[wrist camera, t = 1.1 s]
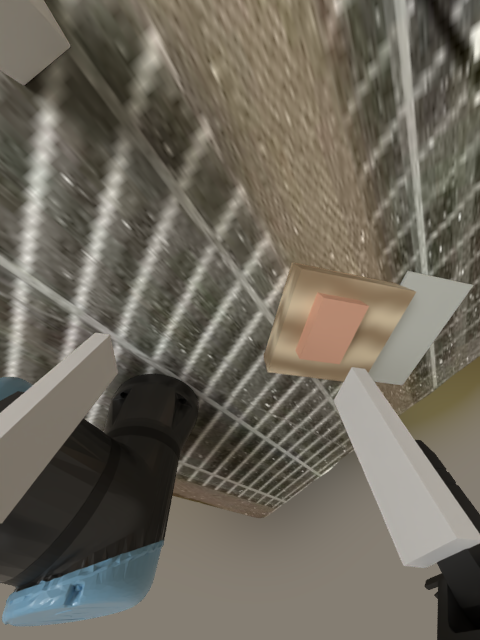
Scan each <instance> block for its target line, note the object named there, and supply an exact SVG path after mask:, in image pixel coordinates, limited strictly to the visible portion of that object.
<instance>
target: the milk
mask: <svg viewBox="0 0 480 640" xmlns="http://www.w3.org/2000/svg"><path fill="white" fill-rule="evenodd" d="M70 47H71V46H70V44H69V42H68V40H67V38H66V37H65V35H64V33H63V32H62V30H61V28H60V27H59V25H58V23H57V21H56V20H55V18H54V16H53V15H52V13H51V11H50V10H49V8H48V6H47V5H46V3H45V1H44V0H0V70H1V71H2V72H4V73H5V74H7V75H8V76H10V77H11V78H13V79H14V80H16V81H17V82H19V83H21V84H22V85H25V84H27V83H28V82H29V81H30V80H31V79H33V78H34V77H35V76H36V75H37V74H39V73H40V72H41V71H42V70H43V69H45V68H46V67H47V66H48V65H49V64H51V63H52V62H53V61H54V60H55V59H57V58H58V57H59V56H60V55H61V54H63V53H64V52H65V51H66V50H67V49H69V48H70Z"/></svg>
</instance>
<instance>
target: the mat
mask: <svg viewBox="0 0 480 640" xmlns="http://www.w3.org/2000/svg"><path fill="white" fill-rule="evenodd" d="M400 285H401V286H403V287H406V288H409V289H411V290H414V291H416V293H415V295H414V297H413V299H412V300H411V302H410V304H409V305H408V307H407V309H406V310H405V312H404V314H403V315H402V317H401V319H400V320H399V322H398V324H397V325H396V327H395V329H394V330H393V332H392V334H391V335H390V337H389V339H388V340H387V342H386V344H385V346H384V347H383V349H382V351H381V352H380V354H379V356H378V357H377V359H376V361H375V362H374V364H373V366H372V367H371V369H370V371H369V372H368V373H369V375H370V376H371V378H372V379H373V381H374V382H381V383H389V384H397V385H403V384H404V382H405V381H406V380H407V378H408V377H409V375H410V374H411V372H412V371H413V370H414V368H415V367H416V365H417V364H418V363H419V361H420V360H421V358H422V357H423V356H424V354H425V353H426V351H427V350H428V349H429V347H430V346H431V344H432V343H433V341H434V340H435V339H436V337H437V336H438V334H439V333H440V332H441V330H442V329H443V327H444V326H445V325H446V323H447V322H448V320H449V319H450V318H451V316H452V315H453V313H454V312H455V310H456V309H457V308H458V306H459V305H460V303H461V302H462V301H463V299H464V298H465V296H466V295H467V294H468V292H469V291H470V289H471V288H472V287H473V285H471V284H466V283H462V282H457V281H452V280H448V279H443V278H438V277H434V276H429V275H424V274H420V273H415V272H410V271H407V273H406V275H405V277H404V278H403V280H402V282H401V284H400Z"/></svg>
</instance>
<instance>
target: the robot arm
mask: <svg viewBox="0 0 480 640" xmlns="http://www.w3.org/2000/svg"><path fill="white" fill-rule="evenodd" d="M117 374H118V370H117V365H116V360H115V356H114V351H113V346H112V342H111V337H110V335H108V334H100V333H95V334H93V335H92V336H91V337H90V338H89V339H87V340H86V341H85V342H84V343H83V344H81V345H80V346H79V347H78V348H77V349H76V350H74V351H73V352H72V353H71V354H70V355H68V356H67V357H66V358H65V359H64V360H62V361H61V362H60V363H59V364H58V365H57V366H55V367H54V368H53V369H52V370H51V371H49V372H48V373H47V374H46V375H45V376H44V377H42V378H41V379H40V380H39V381H38V382H36V383H35V384H34V385H32V384H30V383H29V382H27V381H25V380H23V379H20V378H16V377H3V378H0V583H4V584H8V585H12V586H15V587H16V589H15V591H14V592H13V593H12V594H11V595H10V596H9V598H8V599H7V601H6V607H5V610H4V612H3V616H2V621H3V623H4V624H11V625H13V626H39V625H50V624H59V623H66V622H73V621H80V620H86V619H91V618H96V617H101V616H106V615H109V614H114V613H117V612H121V611H124V610H127V609H129V608H131V607H133V606H135V605H137V604H138V603H139V602H140V601H142V599H143V598H144V597H145V596H146V594H147V593H148V591H149V589H150V588H151V585H152V583H153V580H154V576H155V572H156V568H157V564H158V560H159V556H160V551H161V548H162V547H163V545H164V537H165V532H166V527H167V521H168V515H169V509H170V505H171V499H172V494H173V489H174V483H175V478H176V472H177V467H178V461H179V457H180V452H181V450H182V448H183V446H184V444H185V442H186V440H187V438H188V437H189V435H190V433H191V431H192V429H193V427H194V425H195V423H196V420H197V415H198V408H199V405H198V400H197V397H196V395H195V394H194V392H193V391H192V390H191V389H190V388H189V387H188V386H187V385H186V384H184V383H183V382H181V381H179V380H177V379H175V378H172V377H169V376H165V375H158V374H146V375H140V376H136V377H133V378H131V379H129V380H127V381H126V382H124V383H123V384H122V385H121V386H120V387H119V389H118V390H117V392H116V393H115V395H114V396H113V398H112V400H111V402H110V406H109V411H108V416H107V421H106V426H105V431H104V432H102V431H101V430H100V429H98V428H97V427H95V426H94V425H92V424H91V423H89V422H88V421H86V420H85V419H83V418H84V417H85V415H86V414H87V413H88V411H89V410H90V409H91V408H92V406H93V405H94V404H95V402H96V401H97V400H98V398H99V397H100V396H101V395H102V393H103V392H104V391H105V389H106V388H107V387H108V386H109V384H110V383H111V382H112V380H113V379H114V378H115V376H116V375H117ZM334 402H335V405H336V407H337V410H338V412H339V414H340V417H341V419H342V421H343V424H344V426H345V428H346V431H347V433H348V436H349V438H350V440H351V443H352V445H353V447H354V450H355V452H356V454H357V457H358V459H359V462H360V464H361V466H362V469H363V471H364V473H365V476H366V478H367V481H368V483H369V485H370V488H371V490H372V492H373V495H374V497H375V499H376V502H377V504H378V507H379V509H380V511H381V514H382V516H383V518H384V521H385V523H386V526H387V528H388V530H389V533H390V535H391V537H392V540H393V542H394V544H395V547H396V549H397V551H398V554H399V556H400V559H401V561H402V563H403V566H411V567H420V568H427V567H429V566H431V565H433V564H436V563H437V564H438V566H439V568H440V570H441V572H442V574H439V575H437V576H434V577H432V578H430V579H428V580H426V584H425V587H426V588H427V589H428V590H430V589H433V588H436V587H438V592H437V593H436V594H435V597H436V598H437V599H438V627H437V628H438V629H437V640H480V514H479V513H478V512H477V510H476V509H475V507H474V506H473V505H472V503H471V502H470V501H469V499H468V498H467V497H466V495H465V494H464V493H463V491H462V490H461V488H460V487H459V486H458V485H456V482H455V480H454V479H453V478H452V476H451V475H450V473H449V472H447V471H446V468H445V467H444V465H443V464H442V463H441V461H440V460H439V459H438V457H437V456H436V454H435V453H434V452H432V451H431V450H430V449H429V448H428V447H427V446H426V445H425V444H424V443H423V442H422V441H421V440H414V438H413V437H412V436H411V434H410V433H409V431H408V430H407V428H406V427H405V425H404V424H403V423H402V421H401V420H400V418H399V417H398V415H397V414H396V412H395V411H394V410H393V408H392V407H391V405H390V404H389V402H388V401H387V399H386V398H385V397H384V395H383V394H382V392H381V391H380V389H379V388H378V386H377V385H376V384H375V382H374V381H373V379H372V378H371V376H370V375H369V373H368V372H367V371H366V369H362V368H355V367H352V368H351V369H350V371H349V373H348V375H347V377H346V379H345V381H344V382H343V384H342V386H341V388H340V390H339V392H338V394H337V395H336V397H335V399H334Z"/></svg>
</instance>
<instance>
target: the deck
mask: <svg viewBox="0 0 480 640" xmlns="http://www.w3.org/2000/svg"><path fill="white" fill-rule="evenodd" d="M317 292H318V293H323V294H328V295H334V296H339V297H344V298H350V299H355V300H360V301H362V302H363V303H365V304H367V305H368V306H369V308H368V310H367V312H366V313H365V315H364V317H363V319H362V321H361V323H360V325H359V327H358V329H357V331H356V333H355V335H354V337H353V339H352V341H351V343H350V345H349V347H348V349H347V351H346V353H345V355H344V357H343V359H342V361H341V363H340V364H333V363H326V362H318V361H311V360H304V359H299V357H298V355H297V353H296V351H295V350H296V347H297V345H298V342H299V340H300V337H301V334H302V332H303V329H304V326H305V324H306V321H307V318H308V316H309V313H310V311H311V308H312V305H313V303H314V300H315V297H316V295H317ZM415 293H416V291H414V290H411V289H409V288H406V287H403V286H401V285H398V284H396V283H392V282H387V281H382V280H377V279H372V278H368V277H363V276H358V275H353V274H348V273H343V272H338V271H333V270H328V269H323V268H318V267H313V266H308V265H304V264H299V263H294V262H292V265H291V268H290V271H289V275H288V278H287V281H286V284H285V288H284V291H283V294H282V298H281V301H280V304H279V307H278V311H277V314H276V317H275V321H274V324H273V327H272V330H271V334H270V337H269V340H268V344H267V347H266V350H265V353H264V360H265V364H266V368H267V371H268V372H271V373H279V374H287V375H295V376H303V377H311V378H319V379H327V380H335V381H343V382H344V381H345V379H346V377H347V375H348V373H349V371H350V369H351V368H352V367H355V368H362V369H366V371H367V372H369V371H370V369H371V367H372V366H373V364H374V362H375V361H376V359H377V357H378V356H379V354H380V352H381V351H382V349H383V347H384V346H385V344H386V342H387V340H388V339H389V337H390V335H391V334H392V332H393V330H394V329H395V327H396V325H397V324H398V322H399V320H400V319H401V317H402V315H403V314H404V312H405V310H406V309H407V307H408V305H409V304H410V302H411V300H412V299H413V297H414V295H415Z"/></svg>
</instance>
